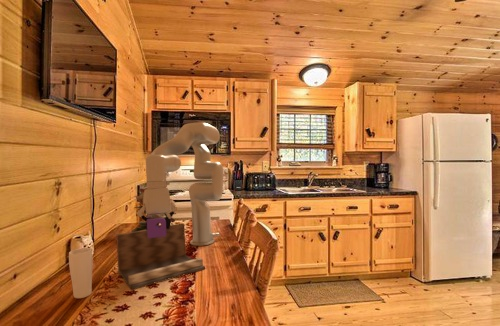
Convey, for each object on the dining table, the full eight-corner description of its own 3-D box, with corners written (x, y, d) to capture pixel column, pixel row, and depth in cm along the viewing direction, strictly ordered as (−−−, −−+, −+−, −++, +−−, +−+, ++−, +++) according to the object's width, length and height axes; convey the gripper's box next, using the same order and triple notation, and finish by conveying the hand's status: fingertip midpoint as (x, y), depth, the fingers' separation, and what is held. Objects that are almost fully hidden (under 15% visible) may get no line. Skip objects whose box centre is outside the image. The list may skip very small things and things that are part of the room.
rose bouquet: (157, 240, 163) (155, 186, 162) (124, 235, 178) (122, 185, 178) (190, 229, 185) (187, 182, 184) (158, 225, 200) (155, 181, 199)
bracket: (166, 236, 113) (165, 218, 113) (147, 238, 111) (146, 220, 110) (165, 229, 124) (164, 213, 124) (147, 231, 122) (147, 214, 122)
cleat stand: (184, 255, 134) (182, 223, 134) (205, 268, 117) (203, 231, 117) (118, 271, 118) (116, 234, 118) (131, 289, 101) (129, 246, 101)
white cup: (77, 291, 101) (75, 248, 101) (97, 290, 102) (95, 247, 102) (66, 301, 95) (64, 254, 94) (88, 299, 95) (86, 253, 95)
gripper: (174, 183, 126) (175, 225, 126) (131, 186, 116) (133, 232, 116) (180, 184, 120) (182, 228, 120) (136, 187, 110) (138, 235, 110)
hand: (158, 229), depth 118 cm, fingers closed on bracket, 6 cm apart
